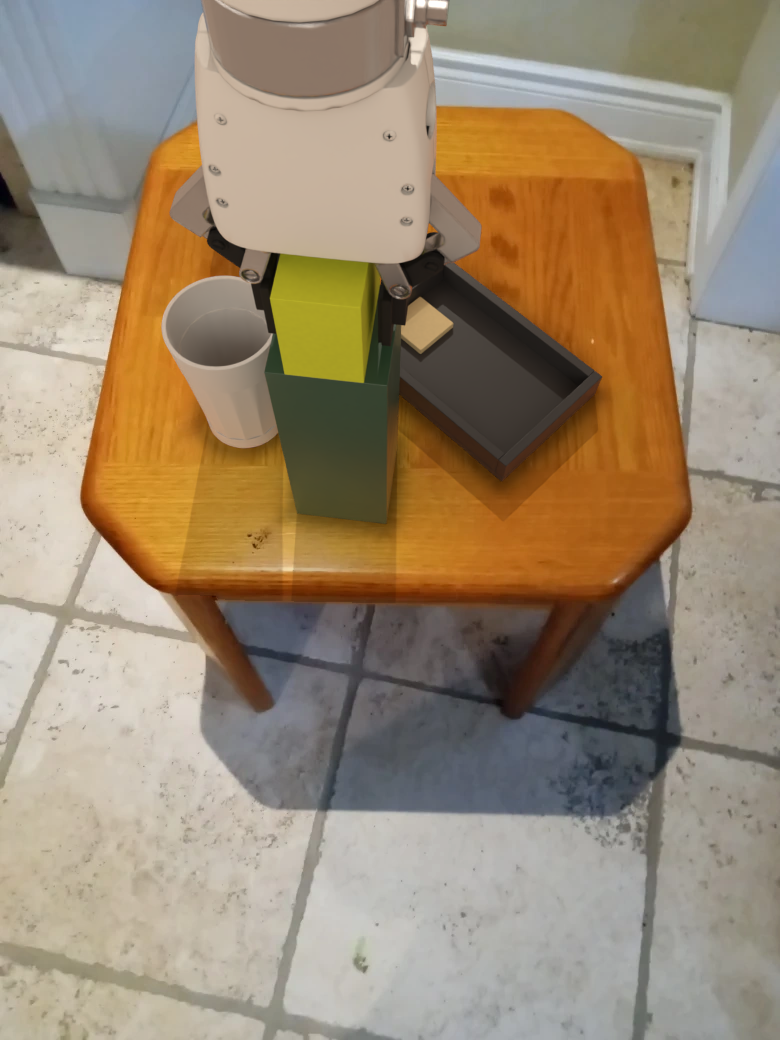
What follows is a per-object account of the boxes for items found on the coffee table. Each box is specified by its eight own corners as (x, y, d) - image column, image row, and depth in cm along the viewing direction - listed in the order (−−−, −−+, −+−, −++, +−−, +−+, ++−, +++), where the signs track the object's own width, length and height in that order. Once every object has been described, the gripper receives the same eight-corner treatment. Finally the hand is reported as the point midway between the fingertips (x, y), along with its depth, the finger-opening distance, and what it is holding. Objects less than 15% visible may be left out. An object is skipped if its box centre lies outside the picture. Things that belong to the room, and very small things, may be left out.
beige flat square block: (453, 327, 70) (453, 323, 69) (420, 354, 69) (420, 350, 68) (419, 300, 71) (419, 296, 70) (386, 326, 70) (387, 322, 69)
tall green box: (397, 445, 66) (402, 286, 48) (386, 524, 63) (387, 386, 46) (311, 435, 66) (285, 274, 49) (296, 513, 63) (263, 372, 46)
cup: (266, 471, 65) (243, 387, 54) (179, 434, 66) (138, 344, 55) (312, 394, 68) (299, 298, 57) (228, 360, 69) (199, 260, 58)
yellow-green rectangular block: (380, 284, 48) (379, 200, 42) (363, 383, 46) (360, 308, 40) (305, 276, 49) (294, 191, 43) (284, 374, 46) (269, 298, 40)
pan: (595, 394, 68) (602, 376, 65) (501, 482, 64) (506, 466, 62) (441, 274, 73) (443, 254, 70) (347, 350, 69) (346, 331, 67)
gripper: (546, -39, 31) (489, 283, 48) (104, -77, 32) (199, 253, 48) (536, 99, 28) (479, 391, 44) (47, 53, 29) (169, 357, 45)
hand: (333, 317), depth 46 cm, fingers open, 5 cm apart
